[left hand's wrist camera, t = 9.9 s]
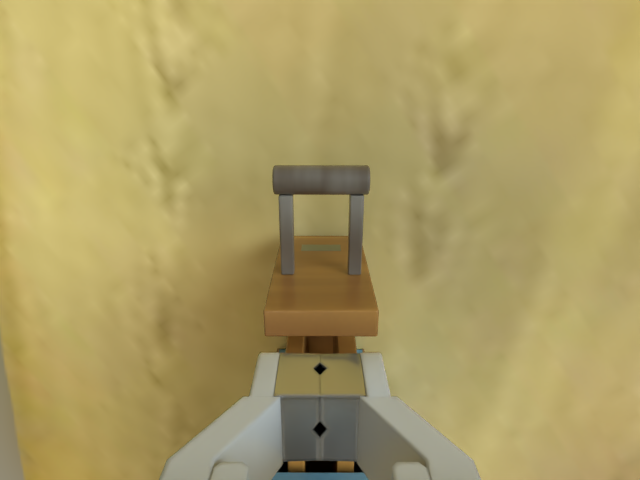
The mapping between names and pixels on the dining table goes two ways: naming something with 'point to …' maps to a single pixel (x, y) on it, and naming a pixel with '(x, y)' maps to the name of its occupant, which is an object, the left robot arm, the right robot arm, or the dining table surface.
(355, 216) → the drawer
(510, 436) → the dining table surface
